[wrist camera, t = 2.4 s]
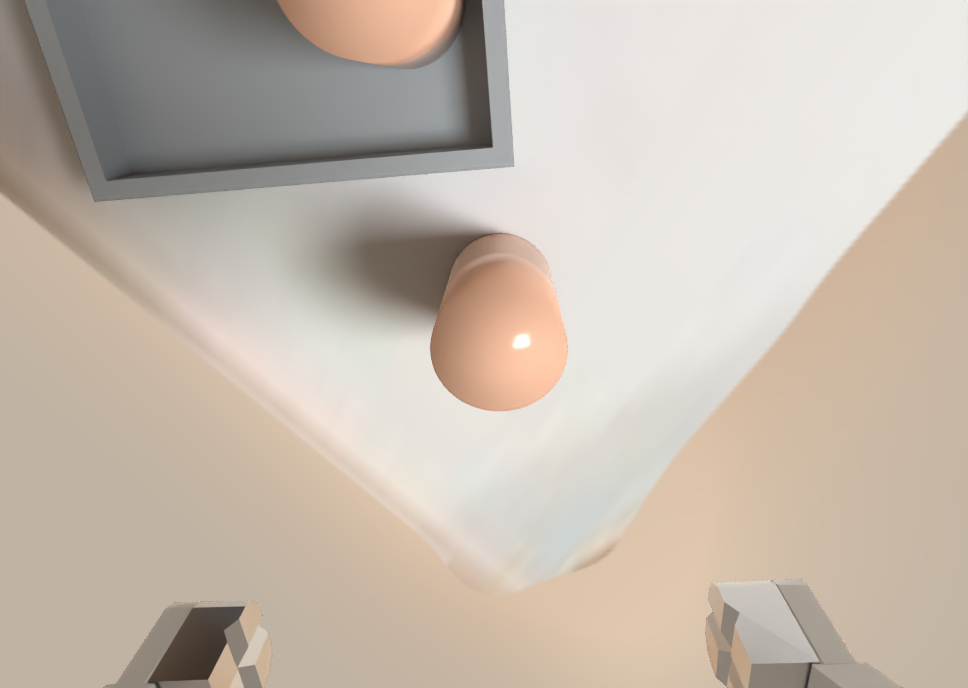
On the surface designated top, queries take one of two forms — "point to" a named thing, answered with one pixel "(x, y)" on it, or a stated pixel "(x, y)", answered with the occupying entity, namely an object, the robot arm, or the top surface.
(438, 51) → the peach glossy rounded part
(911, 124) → the top surface
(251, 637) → the robot arm
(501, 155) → the tray
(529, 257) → the peach rounded capsule
